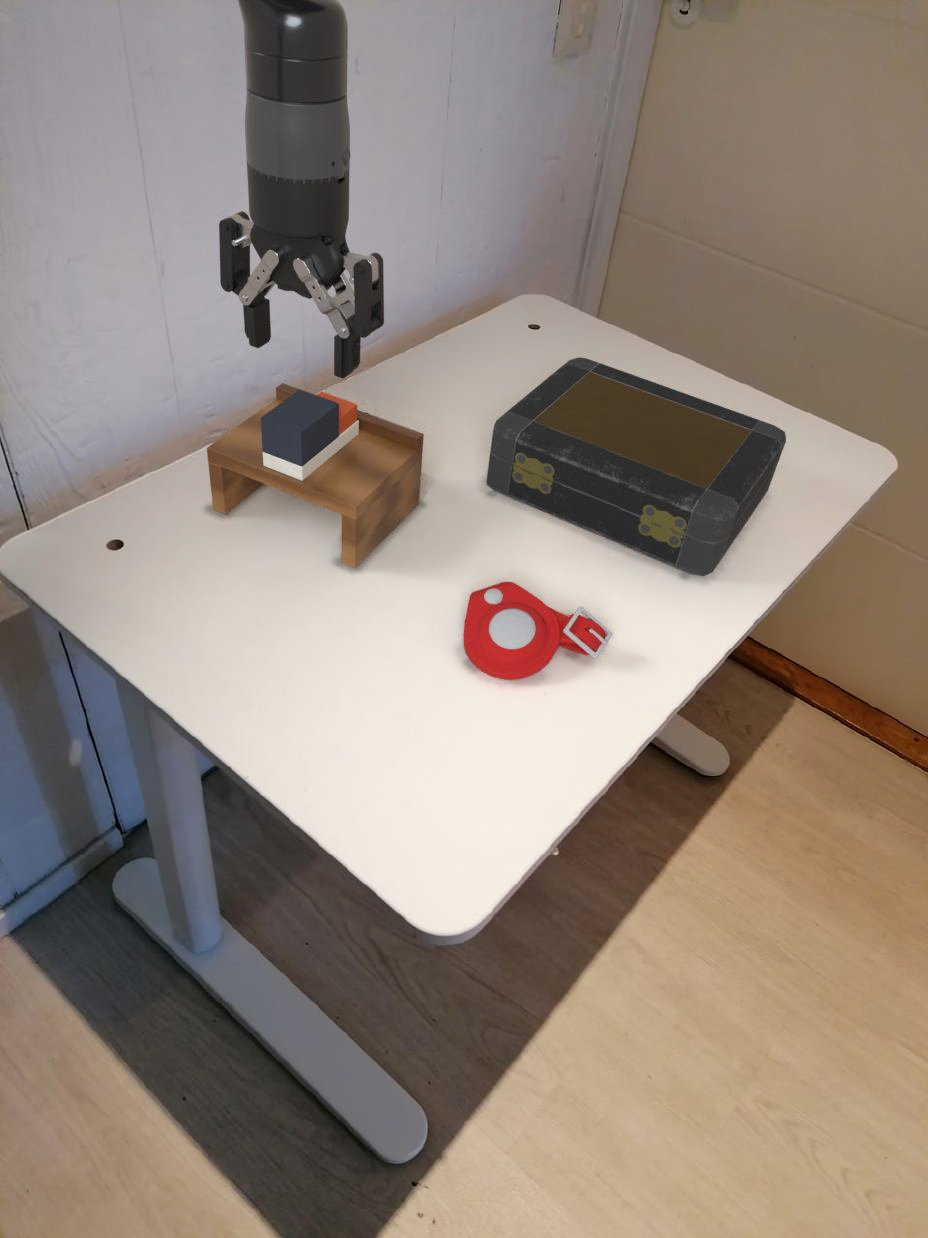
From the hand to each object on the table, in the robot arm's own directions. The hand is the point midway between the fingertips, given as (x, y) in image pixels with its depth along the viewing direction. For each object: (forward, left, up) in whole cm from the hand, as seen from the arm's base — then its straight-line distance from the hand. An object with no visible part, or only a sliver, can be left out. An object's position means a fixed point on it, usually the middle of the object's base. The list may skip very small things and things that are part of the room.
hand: (302, 358), depth 82 cm
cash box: (+23, -25, -17) cm, 38 cm away
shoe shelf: (+2, 0, -17) cm, 17 cm away
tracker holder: (-5, -26, -17) cm, 31 cm away
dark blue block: (+1, 0, -10) cm, 10 cm away
